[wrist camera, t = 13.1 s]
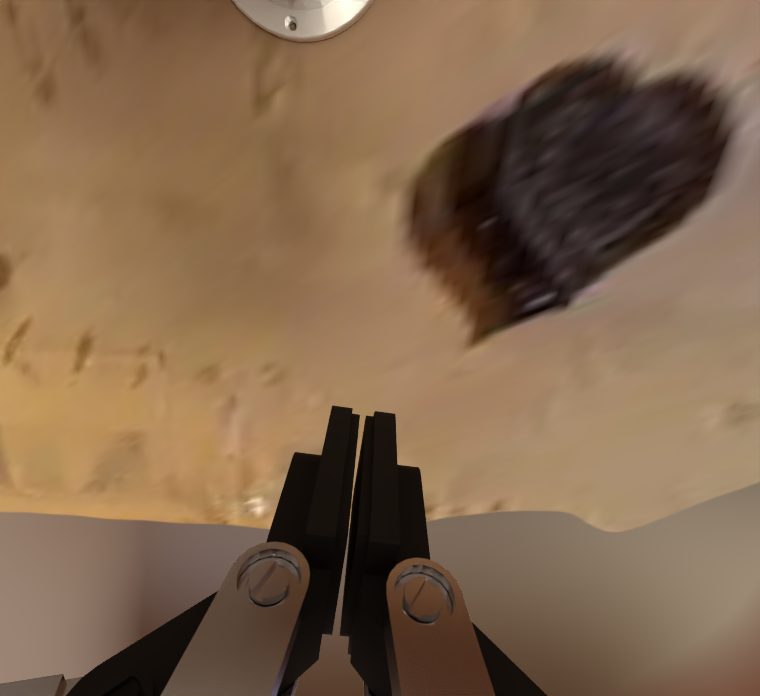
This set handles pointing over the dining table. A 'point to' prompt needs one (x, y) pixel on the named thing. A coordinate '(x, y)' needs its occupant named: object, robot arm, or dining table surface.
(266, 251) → the dining table surface
